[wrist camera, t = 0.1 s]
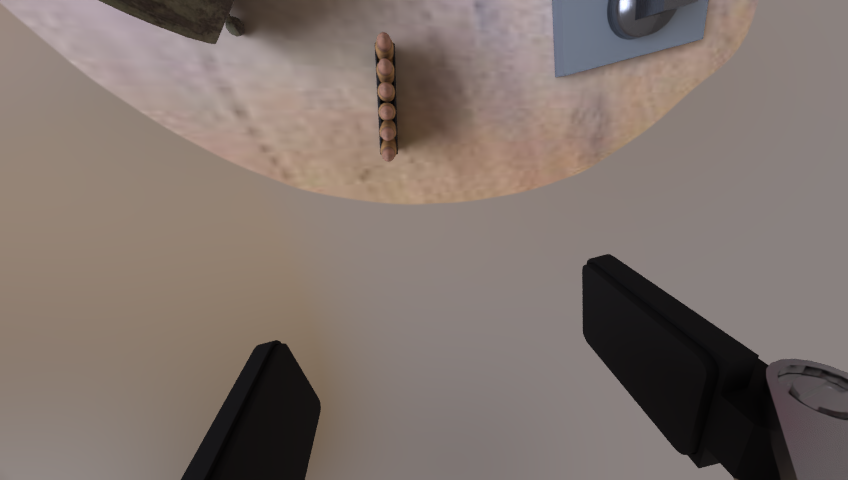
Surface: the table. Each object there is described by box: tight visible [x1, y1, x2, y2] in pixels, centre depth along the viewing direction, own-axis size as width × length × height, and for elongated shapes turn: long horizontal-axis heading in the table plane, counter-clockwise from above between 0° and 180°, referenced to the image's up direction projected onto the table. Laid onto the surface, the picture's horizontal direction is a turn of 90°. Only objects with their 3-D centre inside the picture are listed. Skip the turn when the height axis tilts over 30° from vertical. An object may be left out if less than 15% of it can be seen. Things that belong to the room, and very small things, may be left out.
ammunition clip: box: [375, 32, 398, 162], centre depth 29 cm, size 11×2×12 cm, turn 0°
